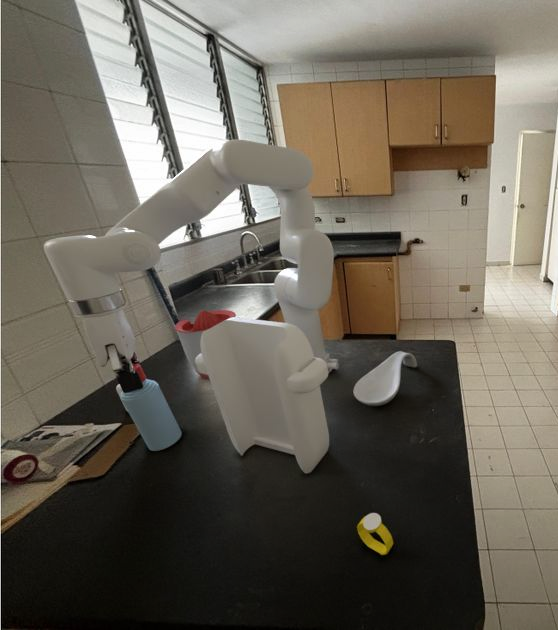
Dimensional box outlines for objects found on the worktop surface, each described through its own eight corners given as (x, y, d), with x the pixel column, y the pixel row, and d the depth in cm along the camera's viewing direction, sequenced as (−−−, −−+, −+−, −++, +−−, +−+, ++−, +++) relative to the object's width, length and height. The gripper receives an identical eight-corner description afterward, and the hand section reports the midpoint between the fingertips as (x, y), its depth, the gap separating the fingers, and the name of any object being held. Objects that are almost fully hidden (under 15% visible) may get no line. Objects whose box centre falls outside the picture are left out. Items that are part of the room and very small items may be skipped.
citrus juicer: (231, 351, 116) (215, 296, 108) (258, 364, 106) (243, 306, 98) (181, 372, 104) (159, 313, 96) (207, 389, 95) (184, 325, 87)
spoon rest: (384, 418, 80) (382, 394, 77) (345, 406, 85) (341, 382, 82) (427, 369, 99) (426, 348, 97) (393, 361, 104) (391, 341, 102)
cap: (132, 376, 72) (125, 364, 70) (150, 375, 72) (144, 362, 70) (118, 388, 68) (111, 375, 67) (137, 386, 68) (131, 373, 67)
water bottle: (188, 431, 79) (155, 362, 71) (164, 452, 73) (126, 380, 65) (166, 428, 80) (131, 361, 72) (141, 449, 74) (101, 379, 67)
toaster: (355, 442, 74) (336, 317, 62) (326, 483, 64) (297, 345, 52) (257, 418, 82) (224, 305, 70) (218, 452, 72) (173, 327, 61)
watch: (397, 548, 52) (394, 523, 50) (386, 565, 50) (383, 539, 48) (367, 530, 55) (363, 505, 53) (356, 545, 53) (351, 519, 51)
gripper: (82, 296, 67) (117, 373, 75) (59, 322, 55) (105, 413, 62) (129, 288, 71) (158, 362, 78) (118, 311, 58) (155, 397, 65)
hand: (134, 384), depth 70 cm, fingers closed on cap, 3 cm apart
